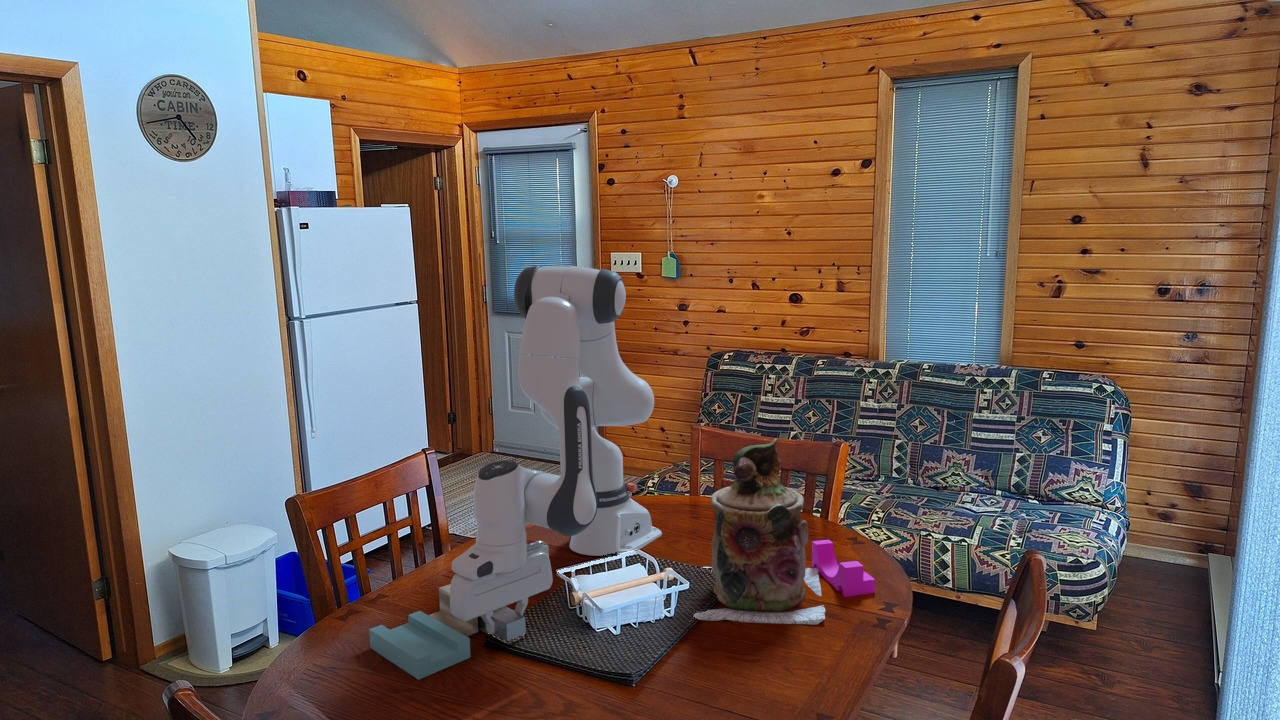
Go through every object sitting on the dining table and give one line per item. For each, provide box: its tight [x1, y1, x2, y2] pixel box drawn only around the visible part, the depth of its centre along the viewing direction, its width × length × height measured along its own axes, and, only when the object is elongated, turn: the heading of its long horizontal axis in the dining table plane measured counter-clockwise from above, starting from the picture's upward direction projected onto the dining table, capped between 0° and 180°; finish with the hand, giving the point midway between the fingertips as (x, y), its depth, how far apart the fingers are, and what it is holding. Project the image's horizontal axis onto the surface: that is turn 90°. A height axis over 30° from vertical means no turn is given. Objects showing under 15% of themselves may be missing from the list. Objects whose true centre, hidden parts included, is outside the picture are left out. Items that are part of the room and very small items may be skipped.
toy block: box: [811, 539, 876, 598], centre depth 167 cm, size 15×6×8 cm, turn 13°
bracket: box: [428, 583, 515, 637], centre depth 156 cm, size 12×11×6 cm
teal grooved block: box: [368, 610, 471, 681], centre depth 143 cm, size 10×16×4 cm, turn 46°
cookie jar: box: [693, 438, 826, 625], centre depth 160 cm, size 25×25×32 cm
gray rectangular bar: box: [478, 606, 527, 641], centre depth 154 cm, size 4×22×4 cm, turn 44°
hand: (505, 626), depth 149 cm, fingers closed on gray rectangular bar, 4 cm apart
